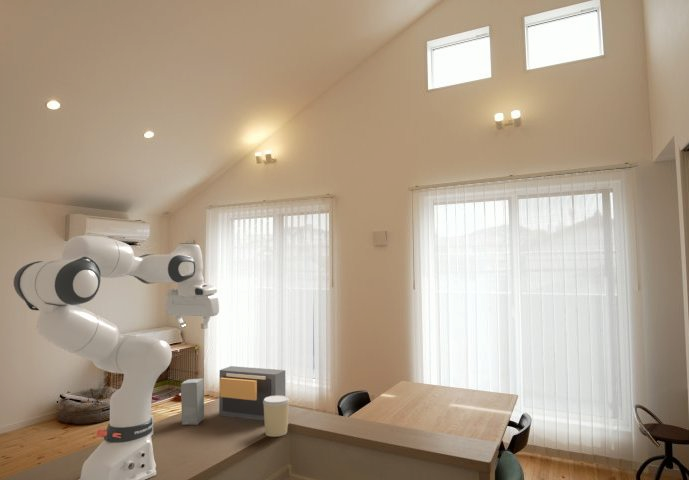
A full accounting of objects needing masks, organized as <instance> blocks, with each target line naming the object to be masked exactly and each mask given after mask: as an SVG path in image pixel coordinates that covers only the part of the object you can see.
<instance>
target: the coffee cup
mask: <svg viewBox="0 0 689 480" xmlns="http://www.w3.org/2000/svg"><path fill="white" fill-rule="evenodd" d="M289 403H290V399H289V397H288V396H286V395H285V396H280V395H277V396H269V397H266V398H265V399H264V401H263V404H264V421H263V422H264V432H265V435H266V436H267V437H272V438H274V437H281V436H284V435H286V434H287V433H288V426H289V425H288V422H289V421H288V420H289V407H290V406H289Z"/></svg>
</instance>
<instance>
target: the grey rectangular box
mask: <svg viewBox="0 0 689 480" xmlns="http://www.w3.org/2000/svg"><path fill="white" fill-rule="evenodd" d="M220 378H232V379H243V380H255V381H257V400H246V399H236V398H227V397H219V396H218V397H219V400H218V401H219V403H218V406H219V408H218V409H219V410H218V411H219V412H218V414H219V416H222V417H223V416H224V417H232V418H240V419H247V420H256V421H263V422H265V421H264V404H263V401H264V399H265V398H266V397H269V396H277V395H280V396H286V370H285V369H274V368H273V369H272V368H260V367H248V366H246V367H245V366H234V365H229V366H228V367H225V368H221V369H219V383H218V384H219V389H218V390H219V392H218V395H220Z"/></svg>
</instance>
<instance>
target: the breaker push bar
mask: <svg viewBox="0 0 689 480" xmlns="http://www.w3.org/2000/svg"><path fill="white" fill-rule="evenodd" d="M218 395H219V394H218ZM218 397H227V398H236V399H246V400H257V381H255V380H243V379H232V378H220V395H219V396H218Z"/></svg>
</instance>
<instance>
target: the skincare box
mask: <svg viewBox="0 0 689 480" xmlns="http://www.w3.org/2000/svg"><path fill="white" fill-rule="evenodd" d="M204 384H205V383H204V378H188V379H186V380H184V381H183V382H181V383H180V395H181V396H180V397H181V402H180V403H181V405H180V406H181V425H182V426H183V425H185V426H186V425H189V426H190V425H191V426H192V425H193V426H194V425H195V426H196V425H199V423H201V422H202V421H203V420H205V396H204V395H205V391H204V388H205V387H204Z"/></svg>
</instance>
